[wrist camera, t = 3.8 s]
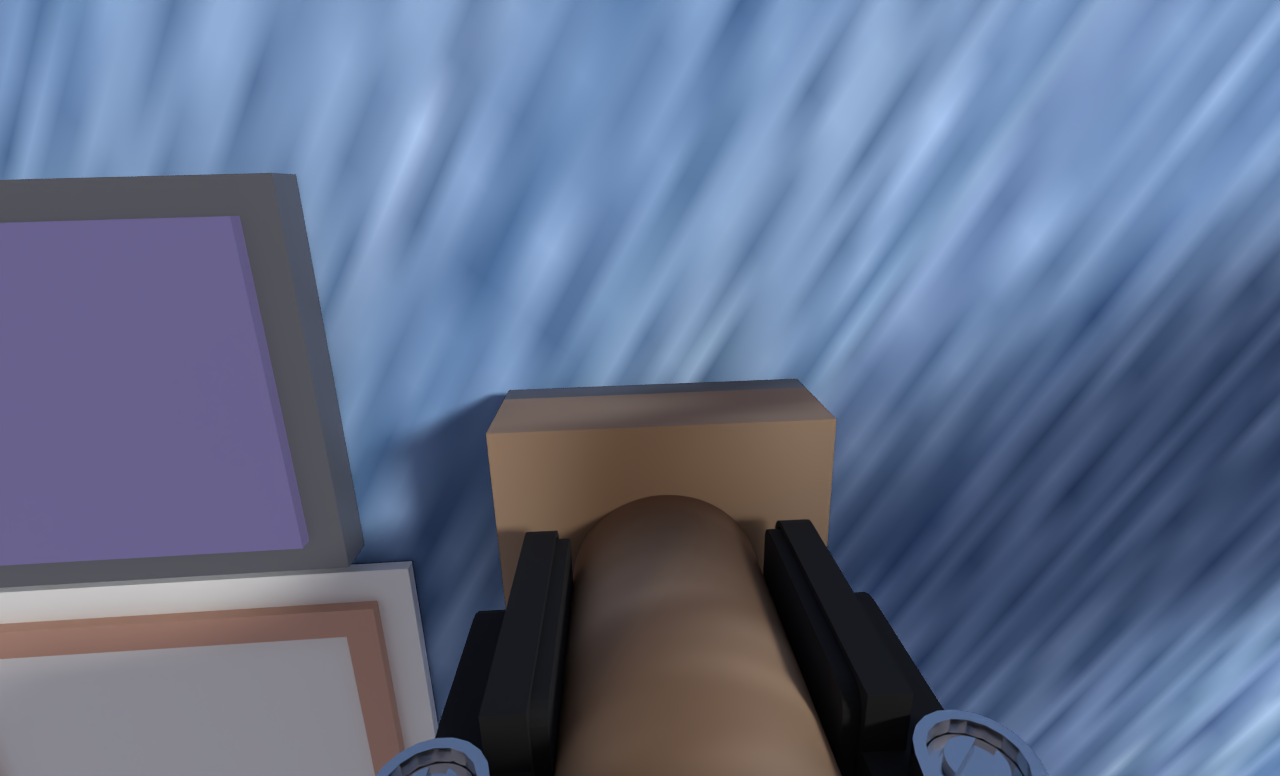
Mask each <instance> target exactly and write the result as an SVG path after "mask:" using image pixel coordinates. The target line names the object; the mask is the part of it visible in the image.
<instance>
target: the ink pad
mask: <svg viewBox="0 0 1280 776" xmlns="http://www.w3.org/2000/svg"><path fill="white" fill-rule="evenodd" d="M363 546H364V541H363V535H362V530H361V524H360V519H359V513H358V508H357V503H356V497H355V492H354V486H353V481H352V476H351V470H350V465H349V459H348V454H347V449H346V443H345V438H344V432H343V427H342V422H341V416H340V411H339V405H338V400H337V395H336V389H335V384H334V378H333V373H332V368H331V362H330V357H329V351H328V346H327V340H326V335H325V330H324V324H323V319H322V313H321V308H320V303H319V297H318V292H317V286H316V281H315V276H314V270H313V265H312V259H311V254H310V249H309V243H308V238H307V232H306V227H305V222H304V216H303V211H302V205H301V200H300V194H299V189H298V184H297V178H296V175H293V174H278V173H255V174H216V175H177V176H138V177H99V178H60V179H21V180H0V588H7V587H24V586H41V585H58V584H76V583H93V582H110V581H127V580H144V579H161V578H178V577H195V576H212V575H229V574H246V573H263V572H280V571H297V570H314V569H331V568H348V567H350V565H351V564H352V562H353V561H354V559H355V558H356V556H357V555H358V553H359V552H360V550H361V549H362V547H363Z"/></svg>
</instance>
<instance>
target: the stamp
mask: <svg viewBox="0 0 1280 776" xmlns="http://www.w3.org/2000/svg"><path fill="white" fill-rule="evenodd" d="M835 433H836V418H835V417H834V416H833V415H832V414H831V413H830V412H829V411H828V410H827V409H826V408H825V407H824V406H823V405H822V404H821V403H820V402H819V401H818V400H817V399H816V398H815V397H814V396H813V395H812V394H811V393H810V392H809V391H808V390H807V389H806V388H805V387H804V386H803V385H802V383H801V382H800V381H799V380H798V379H779V380H754V381H729V382H704V383H678V384H653V385H628V386H603V387H577V388H552V389H527V390H509V391H508V393H507V395H506V397H505V399H504V401H503V402H502V404H501V406H500V408H499V410H498V412H497V414H496V416H495V418H494V420H493V421H492V423H491V425H490V427H489V429H488V431H487V433H486V438H487V447H488V456H489V465H490V474H491V483H492V491H493V500H494V509H495V518H496V527H497V536H498V544H499V553H500V562H501V571H502V580H503V589H504V598H505V606H506V607H507V603H508V599H509V595H510V591H511V587H512V583H513V580H514V576H515V572H516V568H517V564H518V560H519V556H520V552H521V548H522V544H523V540H524V537H525V534H526V532H536V531H558V534H559V539H565V538H570V543H571V556H572V570H573V592H572V602H571V611H570V621H569V631H568V641H567V651H566V661H565V670H564V680H563V690H562V700H561V710H560V719H559V729H558V739H557V749H556V759H555V768H554V776H842V775H841V773H840V770H839V768H838V765H837V762H836V760H835V757H834V755H833V752H832V750H831V747H830V745H829V742H828V739H827V737H826V734H825V732H824V729H823V727H822V724H821V721H820V719H819V716H818V714H817V711H816V709H815V706H814V704H813V701H812V698H811V696H810V693H809V691H808V688H807V686H806V683H805V681H804V678H803V675H802V673H801V670H800V668H799V665H798V663H797V660H796V658H795V655H794V652H793V650H792V647H791V645H790V642H789V640H788V637H787V635H786V632H785V629H784V627H783V624H782V622H781V619H780V617H779V614H778V612H777V609H776V606H775V604H774V601H773V599H772V596H771V594H770V591H769V588H768V586H767V583H766V581H765V578H764V576H763V566H764V541H765V532H766V530H767V529H775V525H776V522H777V521H778V520H800V519H809V520H810V521H811V522H812V524H813V525H814V527H815V529H816V530H817V532H818V534H819V535H820V537H821V539H822V540H823V542H824V544H825V545H826V547H827V541H828V528H829V514H830V500H831V487H832V473H833V460H834V446H835Z"/></svg>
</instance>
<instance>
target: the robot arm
mask: <svg viewBox="0 0 1280 776" xmlns="http://www.w3.org/2000/svg"><path fill="white" fill-rule="evenodd" d="M763 576H764V578H765V581H766V583H767V586H768V588H769V591H770V594H771V596H772V599H773V601H774V604H775V606H776V609H777V612H778V614H779V617H780V619H781V622H782V624H783V627H784V629H785V632H786V635H787V637H788V640H789V642H790V645H791V647H792V650H793V652H794V655H795V658H796V660H797V663H798V665H799V668H800V670H801V673H802V675H803V678H804V681H805V683H806V686H807V688H808V691H809V693H810V696H811V698H812V701H813V704H814V706H815V709H816V711H817V714H818V716H819V719H820V721H821V724H822V727H823V729H824V732H825V734H826V737H827V739H828V742H829V745H830V747H831V750H832V752H833V755H834V757H835V760H836V762H837V765H838V768H839V770H840V773H841V775H842V776H1049V774H1048V773H1047V771H1046V769H1045V768H1044V766H1043V764H1042V763H1041V761H1040V760H1039V758H1038V757H1037V756H1036V754H1035V753H1034V752H1033V751H1032V749H1031V748H1030V747H1029V745H1028V744H1026V743H1025V742H1024V741H1023V740H1022V739H1021V738H1019V737H1018V736H1017V735H1016V734H1015V733H1014V732H1012V731H1011V730H1009V729H1008V728H1006V727H1004V726H1003V725H1001V724H999V723H997V722H996V721H994V720H992V719H989V718H987V717H984V716H981V715H978V714H976V713H973V712H967V711H961V710H955V709H952V710H944V709H943V708H942V706H941V705H940V703H939V702H938V700H937V698H936V697H935V695H934V694H933V692H932V691H931V689H930V687H929V686H928V684H927V683H926V681H925V680H924V678H923V676H922V675H921V673H920V672H919V670H918V669H917V667H916V665H915V664H914V662H913V661H912V659H911V658H910V656H909V654H908V653H907V651H906V650H905V648H904V646H903V645H902V643H901V642H900V640H899V639H898V637H897V635H896V634H895V632H894V631H893V629H892V628H891V626H890V624H889V623H888V621H887V620H886V618H885V617H884V615H883V613H882V612H881V610H880V609H879V607H878V606H877V604H876V602H875V601H874V599H873V598H872V597H871V596H870V595H869V594H868V593H865V592H858V593H854V592H853V591H852V589H851V587H850V586H849V584H848V582H847V581H846V579H845V577H844V575H843V574H842V572H841V570H840V569H839V567H838V565H837V564H836V562H835V560H834V559H833V557H832V555H831V554H830V552H829V550H828V549H827V547H826V545H825V544H824V542H823V540H822V539H821V537H820V535H819V534H818V532H817V530H816V529H815V527H814V525H813V524H812V522H811V521H810V520H809V519H800V520H778V521H777V522H776V525H775V529H767V530H766V532H765V541H764V566H763ZM572 592H573V570H572V556H571V543H570V538H565V539H559V534H558V531H536V532H526V534H525V537H524V540H523V544H522V548H521V552H520V556H519V560H518V564H517V568H516V572H515V576H514V580H513V583H512V587H511V591H510V595H509V599H508V603H507V607H506V610H492V611H479V612H477V613H476V615H475V617H474V619H473V622H472V625H471V629H470V632H469V635H468V638H467V641H466V644H465V647H464V650H463V653H462V656H461V659H460V662H459V665H458V668H457V672H456V675H455V678H454V681H453V684H452V687H451V690H450V693H449V696H448V699H447V702H446V705H445V708H444V711H443V715H442V718H441V721H440V724H439V727H438V730H437V733H436V736H435V738H434V739H431V740H427V741H424V742H420V743H417V744H415V745H413V746H411V747H409V748H407V749H406V750H404V751H402V752H400V753H398V754H397V755H396V756H395V757H394V758H392V759H391V760H390V761H389V762H388V763H386V764H385V765H384V766H383V767H382V768H381V769H380V771H379V772H378V773H377V775H376V776H554V768H555V759H556V749H557V739H558V729H559V719H560V710H561V700H562V690H563V680H564V670H565V661H566V651H567V641H568V631H569V621H570V611H571V602H572Z"/></svg>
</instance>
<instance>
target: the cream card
mask: <svg viewBox="0 0 1280 776" xmlns="http://www.w3.org/2000/svg"><path fill="white" fill-rule="evenodd" d="M437 730H438V722H437V716H436V709H435V703H434V697H433V691H432V684H431V678H430V672H429V666H428V659H427V653H426V647H425V641H424V634H423V628H422V622H421V616H420V609H419V603H418V597H417V591H416V584H415V578H414V572H413V566H412V561H405V562H388V563H371V564H354V565H350V567H348V568H331V569H314V570H297V571H280V572H263V573H246V574H229V575H212V576H195V577H178V578H161V579H144V580H127V581H110V582H93V583H76V584H58V585H41V586H24V587H7V588H0V776H376V775H377V773H378V772H379V771H380V769H381V768H382V767H383V766H384V765H385V764H386V763H388V762H389V761H390V760H391V759H392V758H394V757H395V756H396V755H397V754H398V753H400V752H402V751H404V750H406V749H407V748H409V747H411V746H413V745H415V744H417V743H420V742H424V741H427V740H431V739H434V738H435V736H436V733H437Z"/></svg>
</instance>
